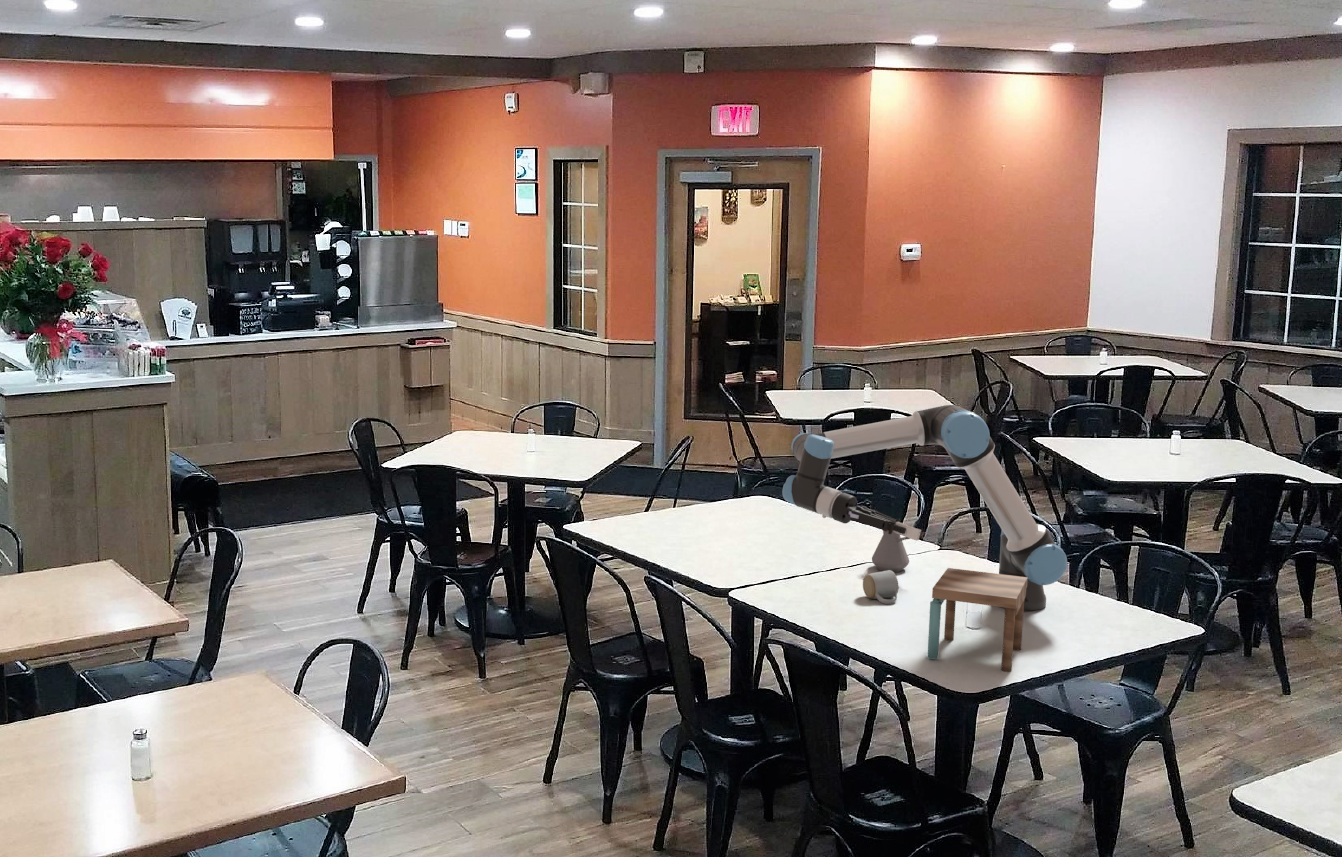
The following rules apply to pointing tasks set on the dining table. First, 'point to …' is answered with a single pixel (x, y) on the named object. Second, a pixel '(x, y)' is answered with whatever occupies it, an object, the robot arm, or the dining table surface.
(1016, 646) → the stool
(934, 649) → the folding leg
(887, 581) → the ceramic mug
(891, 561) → the coffee pot
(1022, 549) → the robot arm
